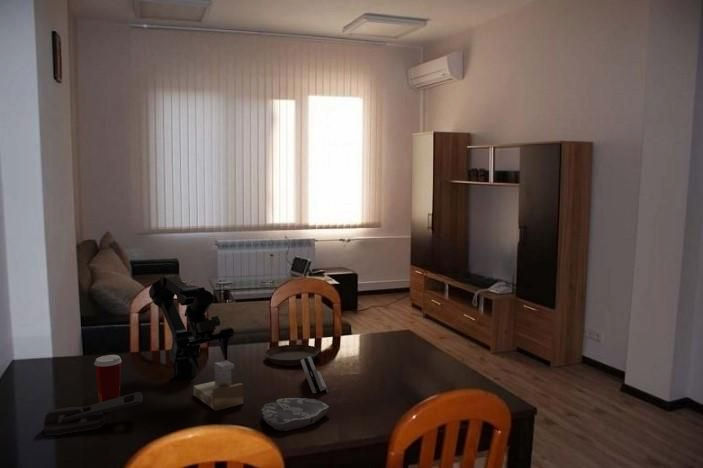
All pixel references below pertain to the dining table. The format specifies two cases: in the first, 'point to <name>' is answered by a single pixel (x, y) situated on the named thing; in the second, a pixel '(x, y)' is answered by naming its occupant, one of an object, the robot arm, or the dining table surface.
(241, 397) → the block
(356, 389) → the dining table surface
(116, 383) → the paper cup
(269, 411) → the brain slice
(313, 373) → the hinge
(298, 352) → the plant saucer
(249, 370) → the dining table surface
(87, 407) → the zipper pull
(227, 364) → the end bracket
